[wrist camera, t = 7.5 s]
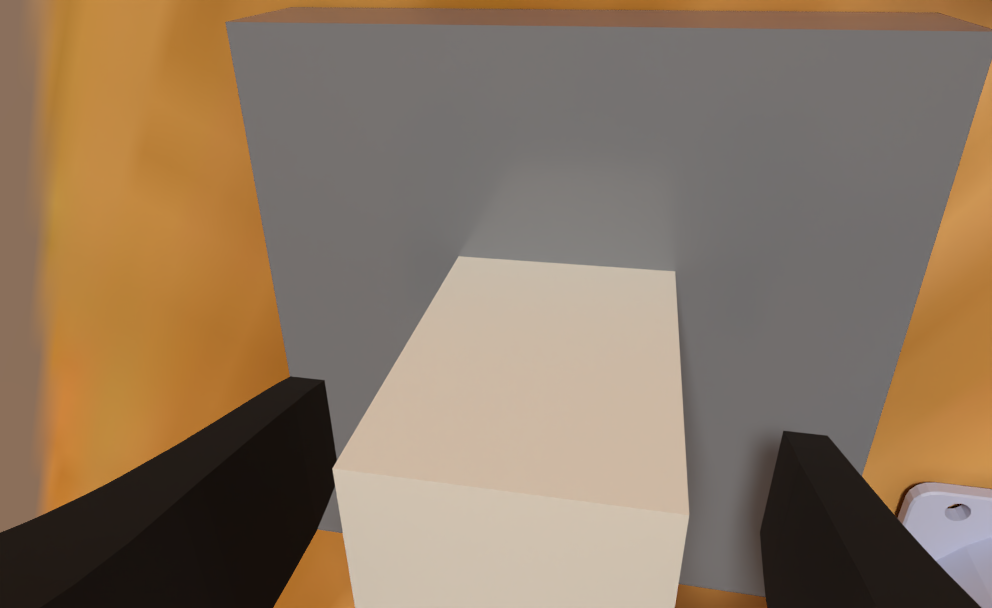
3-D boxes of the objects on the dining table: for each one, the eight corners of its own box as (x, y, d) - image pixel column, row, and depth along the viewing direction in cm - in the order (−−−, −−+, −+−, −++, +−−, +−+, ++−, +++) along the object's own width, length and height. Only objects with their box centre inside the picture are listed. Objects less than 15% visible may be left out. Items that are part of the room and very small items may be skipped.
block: (675, 271, 12) (689, 515, 7) (654, 445, 14) (654, 738, 9) (458, 256, 13) (332, 468, 8) (466, 424, 15) (367, 683, 10)
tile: (938, 13, 12) (1000, 31, 10) (801, 522, 18) (821, 605, 16) (290, 6, 14) (225, 21, 12) (354, 463, 20) (318, 529, 18)
